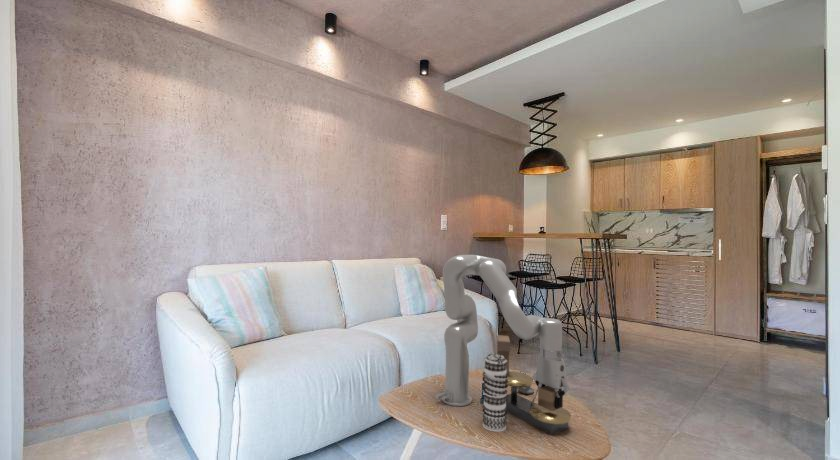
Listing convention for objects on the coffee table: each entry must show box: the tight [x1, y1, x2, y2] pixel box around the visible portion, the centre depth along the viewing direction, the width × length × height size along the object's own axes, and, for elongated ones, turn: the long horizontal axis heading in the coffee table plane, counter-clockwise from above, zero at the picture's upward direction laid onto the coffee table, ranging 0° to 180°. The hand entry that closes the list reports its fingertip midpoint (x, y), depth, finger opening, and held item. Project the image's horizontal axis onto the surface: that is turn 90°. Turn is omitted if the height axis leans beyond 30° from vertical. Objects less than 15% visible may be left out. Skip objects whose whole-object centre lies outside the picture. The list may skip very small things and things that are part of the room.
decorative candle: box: [481, 353, 509, 433], centre depth 137 cm, size 9×9×25 cm
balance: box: [506, 370, 572, 436], centre depth 145 cm, size 14×31×12 cm, turn 34°
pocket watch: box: [517, 370, 535, 395], centre depth 168 cm, size 8×8×10 cm
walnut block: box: [537, 385, 564, 411], centre depth 138 cm, size 6×6×6 cm
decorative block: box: [496, 334, 511, 372], centre depth 181 cm, size 11×6×20 cm, turn 170°
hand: (550, 403), depth 137 cm, fingers closed on walnut block, 6 cm apart
